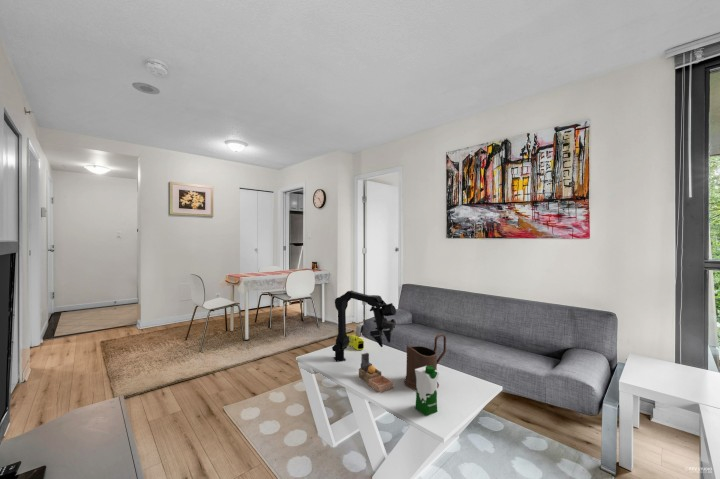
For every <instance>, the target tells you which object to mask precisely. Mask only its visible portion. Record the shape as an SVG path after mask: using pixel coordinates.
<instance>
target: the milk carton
mask: <svg viewBox="0 0 720 479" xmlns="http://www.w3.org/2000/svg"><path fill="white" fill-rule="evenodd" d="M415 373H416V390H415V406H414V409H415V410H417V411H418V412H420V413H421V414H422V415H424V416H425V417H426V416H427V417H428V416H429V415H432V414H434V413H437V412H438V388H437V382H438V380H439V379H438V378H439V375H440V371H438V370H437V371H436V370H435V367H433V366H424V367H421V368H417V369H415Z"/></svg>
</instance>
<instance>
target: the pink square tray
mask: <svg viewBox="0 0 720 479" xmlns="http://www.w3.org/2000/svg"><path fill="white" fill-rule="evenodd" d="M367 385H368V386H369V387H370V388H372V389H373V390H375V391H376V392H377V393H383V392H385V391H388V390H391V389H393V388H394V381H392V380H391V379H389V378H387V377H386V376H384V375H381V376H379V377H375V378H372V379H369V380H368V384H367Z"/></svg>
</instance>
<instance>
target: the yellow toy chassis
mask: <svg viewBox="0 0 720 479" xmlns="http://www.w3.org/2000/svg"><path fill="white" fill-rule="evenodd" d="M346 334H347V336H349V341H350V343H349V345H348V346H349V347H350V348H351V349H355V350H356V351H361V350H364V349H365V341H364V339H363V338H361V337H359V336H357V335H356V334H352V335H351V334H349V333H346Z"/></svg>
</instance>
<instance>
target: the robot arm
mask: <svg viewBox="0 0 720 479" xmlns="http://www.w3.org/2000/svg"><path fill="white" fill-rule="evenodd" d="M352 299H354V300H357V301H361V302H364V303H366V304H367V305H368V306H370V309H369V312H373V316H374V320H373V323H375V325H376V327H375V329H372V330H370V332H369V336H370V337H372V338H373V339H374V340H375V341H376V342H377V344H378V345H379V347H381V348H382V347H383V346H384V345H383V338H382V337H383V336H385V338H386V341H387V342H388V344H389V343H391V339H392V338H391V335H392V332H393V330H394V329H396V325H397V322H396V319H394V318H392V319H390V320H388V319H387V317H392V316H396V314H397V308H396V307H395V305H394V304H393V303H392V302H391V303H386V301H385V300H383V299H382V296H381V295H377V294H376V295H375V294H374V295H373V294H371V295H369V294H365V293H362V292H358V291H354V290H347V291H346V292H345V293H343V294H342V295H339V297H338V296H337V297H336V298H335V299H334V307H335V310H336V311H337V336H336V339H335V344H334V345H333V346H331V350H332V351H333V352H335V353H334V356H333V357H332V358H333V359H334V360H333V361H334V362H343V361H344V362H345V361H346V358H345V350H346V349H347V348H348V346H349V343H350V341H349V336H347V334H348V333H347V323H346V321H347V320H346V319H347V318H346V311H347V308H348V304H349V301H351V300H352Z"/></svg>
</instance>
